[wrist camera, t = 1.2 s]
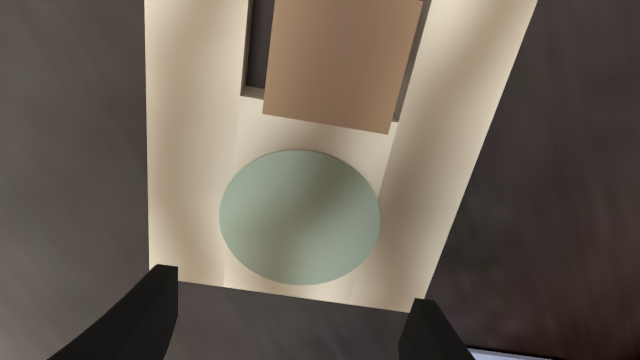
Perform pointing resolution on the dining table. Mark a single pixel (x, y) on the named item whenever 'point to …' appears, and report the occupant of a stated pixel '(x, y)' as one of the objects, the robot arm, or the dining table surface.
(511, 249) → the dining table surface
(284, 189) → the board
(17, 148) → the dining table surface
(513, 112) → the dining table surface
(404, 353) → the robot arm
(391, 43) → the block
